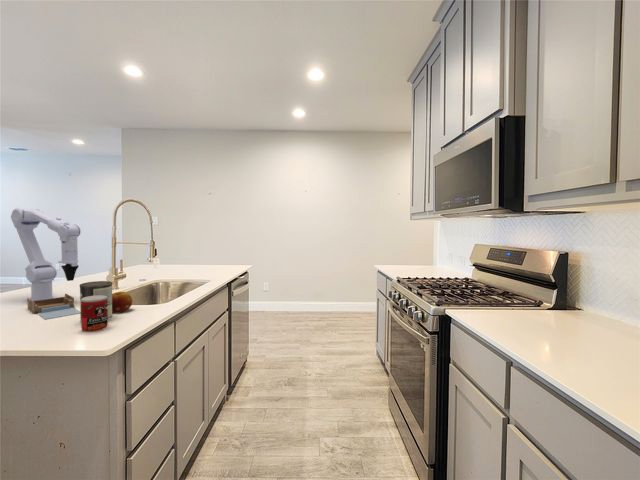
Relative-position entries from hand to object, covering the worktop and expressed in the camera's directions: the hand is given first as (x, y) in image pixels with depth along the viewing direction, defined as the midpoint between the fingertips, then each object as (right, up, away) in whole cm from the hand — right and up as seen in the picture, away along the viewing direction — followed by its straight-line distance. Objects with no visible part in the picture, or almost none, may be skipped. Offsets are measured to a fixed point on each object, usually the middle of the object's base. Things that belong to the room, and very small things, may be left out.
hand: (70, 280), depth 143 cm
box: (-1, -11, -9) cm, 14 cm away
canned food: (+35, -13, -32) cm, 49 cm away
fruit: (+30, -12, -11) cm, 34 cm away
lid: (+9, -12, -16) cm, 22 cm away
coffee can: (+29, -12, -23) cm, 39 cm away
